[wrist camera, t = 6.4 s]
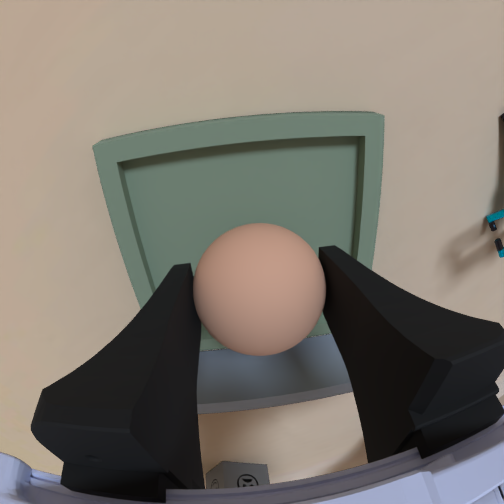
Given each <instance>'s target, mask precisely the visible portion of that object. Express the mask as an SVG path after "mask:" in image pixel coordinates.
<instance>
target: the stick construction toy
mask: <svg viewBox="0 0 504 504" xmlns="http://www.w3.org/2000/svg"><path fill="white" fill-rule="evenodd" d="M501 117H502V119H503V121H504V113H503V114H502V115H501ZM503 217H504V209H501V210H499V211H497V212H494V213H492V214H489V215H487V216H486V218H487V221H488V223H489V226H490V228H491V231H495V230H496V229H497V228H496V225H495V222H494V221H495V220H498V219H500V218H503ZM494 242H495V245H496V248H497V251H498V254H499V257H500V258H502V257H504V247H503V245H502V242H501V239H500V238H498V239H496V240H495V241H494Z"/></svg>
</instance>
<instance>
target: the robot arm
mask: <svg viewBox="0 0 504 504" xmlns="http://www.w3.org/2000/svg"><path fill="white" fill-rule="evenodd" d="M318 259H319V260H320V263H321V265H322V268H323V271H324V275H325V281H326V298H325V304H324V308H323V311H322V312H323V315H324V317H325V320H326V322H327V324H328V327H329V329H330V331H331V333H332V336H333V338H334V340H335V343H336V345H337V347H338V349H339V352H340V354H341V356H342V359H343V361H344V364H345V366H346V369H347V372H348V375H349V379H350V382H351V386H352V389H353V393H354V397H355V401H356V405H357V409H358V413H359V417H360V422H361V427H362V431H363V436H364V442H365V447H366V453H367V459H368V464H365V465H361V466H358V467H354V468H350V469H346V470H342V471H338V472H334V473H330V474H325V475H321V476H316V477H311V478H306V479H300V480H295V481H289V482H282V483H275V484H268V485H259V486H250V487H238V488H224V489H205V485H204V477H203V469H202V461H201V451H200V441H199V428H198V411H197V376H198V365H199V353H200V342H201V321H200V319H199V316H198V314H197V311H196V309H195V304H194V299H193V280H194V276H193V272H192V267H191V263H185V264H177V265H173V267H172V268H171V269H170V271H169V272H168V273H167V275H166V276H165V278H164V279H163V281H162V282H161V283H160V285H159V286H158V288H157V289H156V290H155V292H154V293H153V295H152V296H151V297H150V299H149V300H148V301H147V303H146V304H145V305H144V306H143V308H142V309H141V310H140V311H139V313H138V314H137V315H136V316H135V317H134V319H133V320H132V321H131V322H130V323H129V324H128V325H127V326H126V327H125V328H124V329H123V330H122V331H121V332H120V333H119V334H118V335H117V336H116V337H115V338H114V339H113V340H112V341H111V342H110V343H109V344H107V345H106V346H105V347H104V348H103V349H102V350H100V351H99V352H98V353H97V354H96V355H95V356H93V357H92V358H91V359H89V360H88V361H87V362H85V363H84V364H83V365H81V366H80V367H78V368H77V369H76V370H74V371H73V372H71V373H70V374H68V375H67V376H65V377H63V378H61V379H60V380H58V381H56V382H55V383H53V384H51V385H50V386H48V387H46V388H44V389H43V390H42V393H41V395H40V398H39V401H38V404H37V407H36V410H35V413H34V417H33V420H32V423H31V431H32V433H33V435H34V436H35V438H36V439H37V440H38V441H39V442H40V443H41V444H42V445H43V446H44V447H46V448H47V449H48V450H49V451H50V452H52V453H53V454H54V455H56V456H57V457H58V458H59V459H61V460H62V461H63V462H64V465H63V470H62V475H61V476H59V475H55V474H51V473H46V472H43V471H39V470H35V469H31V467H30V466H29V465H27V464H26V463H25V462H23V461H22V460H20V459H18V458H16V457H14V456H11V455H8V454H5V453H2V452H0V504H504V501H503V499H504V405H503V406H502V405H501V403H500V402H499V400H498V398H497V396H496V394H497V393H498V392H499V388H498V386H497V384H496V383H495V381H496V380H497V378H498V377H499V375H500V374H501V372H502V371H503V369H504V329H503V327H502V326H501V325H500V324H499V323H497V322H492V321H488V320H483V319H479V318H474V317H470V316H467V315H464V314H460V313H457V312H454V311H451V310H448V309H445V308H443V307H440V306H438V305H435V304H433V303H430V302H428V301H425V300H423V299H421V298H419V297H417V296H415V295H413V294H411V293H409V292H407V291H405V290H403V289H401V288H399V287H398V286H396V285H394V284H392V283H391V282H389V281H388V280H386V279H384V278H383V277H381V276H379V275H378V274H376V273H375V272H373V271H372V270H370V269H369V268H367V267H366V266H364V265H363V264H362V263H360V262H359V261H357V260H356V259H355V258H353V257H352V256H350V255H349V254H347V253H346V252H345V251H343V250H342V249H340V248H339V247H337V246H335V245H332V246H324V247H319V253H318Z"/></svg>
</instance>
